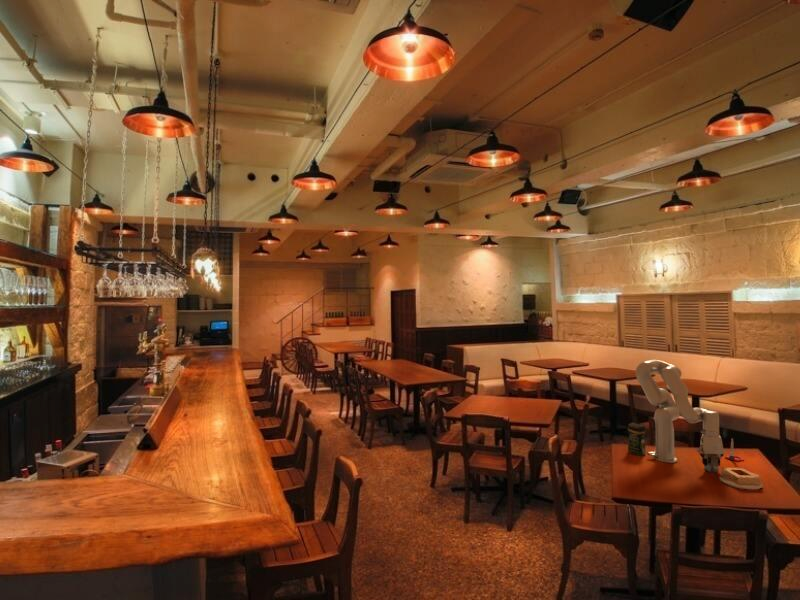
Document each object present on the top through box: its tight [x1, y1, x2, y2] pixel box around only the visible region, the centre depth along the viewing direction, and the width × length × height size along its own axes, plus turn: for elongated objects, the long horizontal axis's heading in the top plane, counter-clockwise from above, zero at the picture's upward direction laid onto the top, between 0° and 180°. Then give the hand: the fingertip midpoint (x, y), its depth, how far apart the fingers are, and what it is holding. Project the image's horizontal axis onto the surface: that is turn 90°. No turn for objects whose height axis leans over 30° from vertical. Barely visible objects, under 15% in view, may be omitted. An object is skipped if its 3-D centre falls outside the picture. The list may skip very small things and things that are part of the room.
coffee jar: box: [627, 422, 647, 456], centre depth 284 cm, size 10×8×19 cm
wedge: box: [703, 454, 719, 474], centre depth 254 cm, size 4×6×10 cm, turn 177°
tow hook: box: [724, 438, 745, 463], centre depth 273 cm, size 8×13×9 cm
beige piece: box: [719, 467, 763, 491], centre depth 238 cm, size 18×18×6 cm
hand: (711, 464), depth 254 cm, fingers open, 6 cm apart
